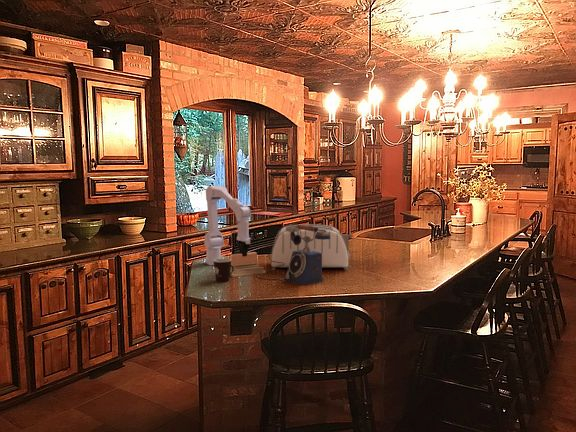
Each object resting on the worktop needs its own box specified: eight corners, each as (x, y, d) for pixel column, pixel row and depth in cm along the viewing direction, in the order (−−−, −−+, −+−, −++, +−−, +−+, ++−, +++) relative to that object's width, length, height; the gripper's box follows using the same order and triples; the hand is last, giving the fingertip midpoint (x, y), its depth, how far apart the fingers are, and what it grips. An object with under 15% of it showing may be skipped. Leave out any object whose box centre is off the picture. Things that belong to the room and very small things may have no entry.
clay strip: (230, 264, 247) (230, 254, 247) (255, 261, 253) (255, 252, 253) (231, 265, 245) (231, 255, 245) (257, 262, 251) (256, 252, 251)
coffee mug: (212, 279, 233) (211, 259, 232) (229, 277, 236) (229, 257, 235) (217, 285, 222) (216, 264, 221) (235, 283, 225) (234, 262, 224)
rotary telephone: (248, 275, 243) (247, 222, 239) (282, 269, 256) (282, 219, 253) (299, 293, 211) (299, 232, 207) (335, 285, 224) (336, 227, 221)
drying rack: (222, 269, 253) (221, 263, 253) (253, 266, 261) (253, 260, 261) (232, 276, 238) (232, 270, 238) (265, 273, 246) (265, 267, 246)
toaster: (355, 271, 252) (356, 229, 249) (270, 270, 252) (270, 228, 249) (350, 262, 273) (350, 223, 270) (271, 262, 273) (271, 223, 270)
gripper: (255, 231, 242) (255, 257, 244) (245, 227, 255) (245, 252, 257) (242, 232, 239) (242, 258, 241) (232, 228, 252) (233, 253, 254)
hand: (243, 255), depth 249 cm, fingers closed on clay strip, 2 cm apart
